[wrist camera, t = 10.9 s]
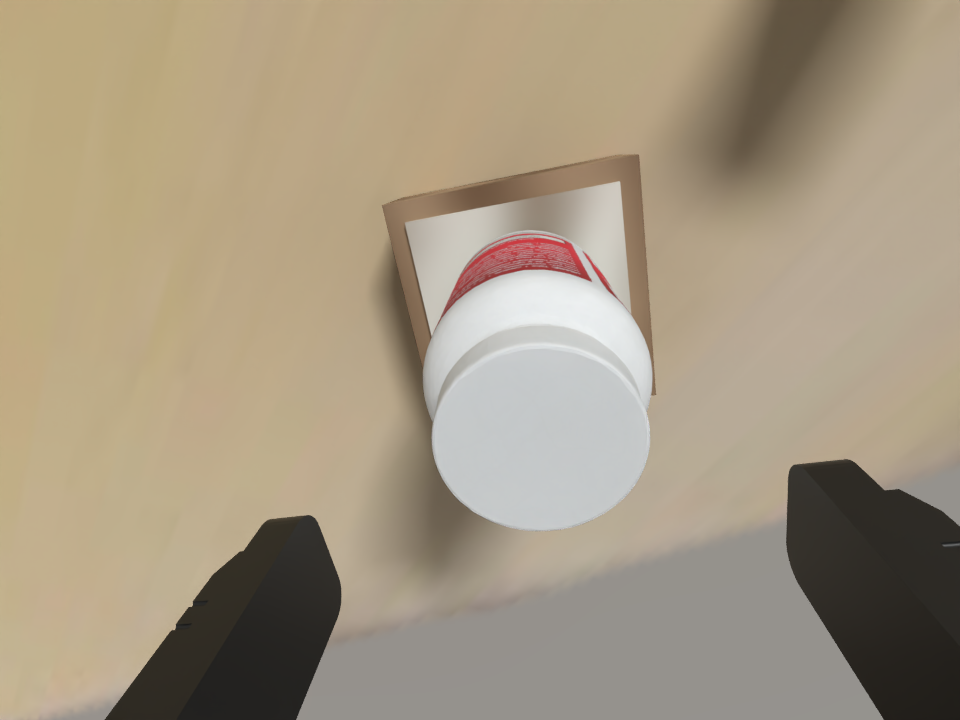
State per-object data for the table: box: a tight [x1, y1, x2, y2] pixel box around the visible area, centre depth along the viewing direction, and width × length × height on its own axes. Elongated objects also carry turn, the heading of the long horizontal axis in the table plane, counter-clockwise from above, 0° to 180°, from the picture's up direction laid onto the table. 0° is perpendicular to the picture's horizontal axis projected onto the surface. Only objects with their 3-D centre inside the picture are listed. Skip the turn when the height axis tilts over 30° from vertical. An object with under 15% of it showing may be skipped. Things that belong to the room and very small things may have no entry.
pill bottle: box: [423, 230, 652, 531], centre depth 16 cm, size 6×6×11 cm
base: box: [382, 155, 656, 395], centre depth 23 cm, size 10×10×4 cm
